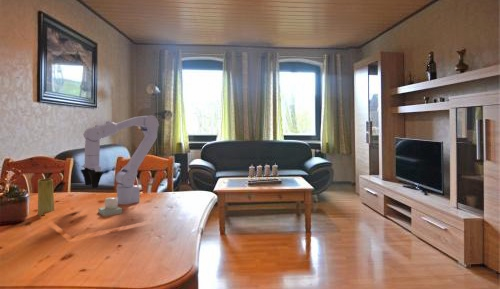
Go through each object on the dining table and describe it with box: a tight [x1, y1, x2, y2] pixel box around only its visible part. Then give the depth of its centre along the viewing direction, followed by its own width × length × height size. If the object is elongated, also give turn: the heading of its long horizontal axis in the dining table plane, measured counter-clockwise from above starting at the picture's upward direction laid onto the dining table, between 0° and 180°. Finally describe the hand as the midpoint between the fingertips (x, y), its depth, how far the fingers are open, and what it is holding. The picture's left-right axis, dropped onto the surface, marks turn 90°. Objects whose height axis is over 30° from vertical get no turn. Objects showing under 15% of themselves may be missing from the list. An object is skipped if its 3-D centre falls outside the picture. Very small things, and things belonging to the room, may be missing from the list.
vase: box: [36, 178, 55, 217], centre depth 131 cm, size 6×6×14 cm
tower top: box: [97, 206, 123, 217], centre depth 129 cm, size 7×7×2 cm
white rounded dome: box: [104, 196, 119, 210], centre depth 129 cm, size 5×5×4 cm
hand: (91, 186), depth 137 cm, fingers open, 7 cm apart
